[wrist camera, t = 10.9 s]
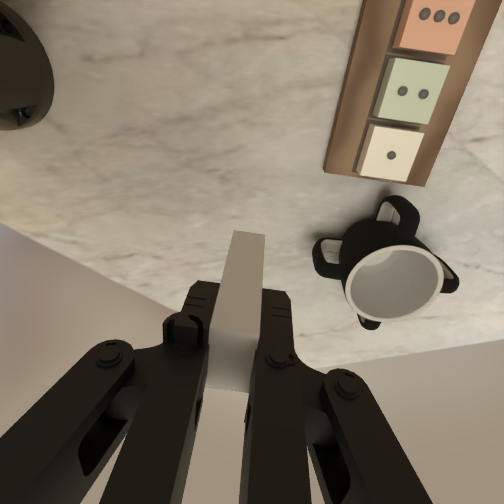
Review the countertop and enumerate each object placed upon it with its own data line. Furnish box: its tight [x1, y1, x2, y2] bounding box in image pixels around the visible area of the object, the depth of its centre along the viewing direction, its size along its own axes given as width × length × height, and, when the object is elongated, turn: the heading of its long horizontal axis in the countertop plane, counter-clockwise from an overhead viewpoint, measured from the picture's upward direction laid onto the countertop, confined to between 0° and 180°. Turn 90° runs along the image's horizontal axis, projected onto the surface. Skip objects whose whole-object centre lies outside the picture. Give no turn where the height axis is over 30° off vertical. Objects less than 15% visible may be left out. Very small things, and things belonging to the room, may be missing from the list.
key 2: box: [372, 58, 450, 124], centre depth 36 cm, size 6×6×3 cm
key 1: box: [356, 123, 424, 182], centre depth 40 cm, size 6×6×3 cm
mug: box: [312, 195, 459, 330], centre depth 45 cm, size 16×16×12 cm
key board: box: [323, 0, 502, 187], centre depth 39 cm, size 14×22×2 cm, turn 173°
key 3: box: [392, 0, 475, 56], centre depth 33 cm, size 6×6×3 cm
